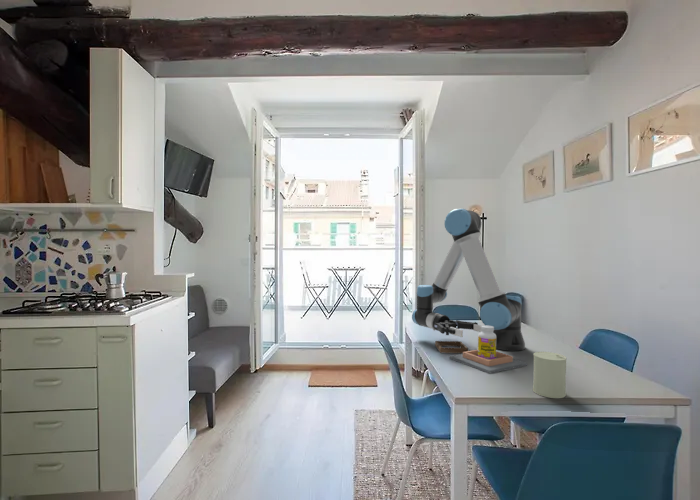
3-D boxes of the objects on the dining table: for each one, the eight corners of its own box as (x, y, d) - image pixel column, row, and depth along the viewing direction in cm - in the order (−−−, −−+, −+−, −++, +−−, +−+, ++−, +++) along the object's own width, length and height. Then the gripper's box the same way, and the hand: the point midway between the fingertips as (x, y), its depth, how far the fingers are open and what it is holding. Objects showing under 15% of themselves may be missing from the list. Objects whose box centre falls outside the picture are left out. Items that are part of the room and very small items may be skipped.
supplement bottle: (477, 360, 148) (478, 327, 148) (477, 356, 154) (478, 324, 154) (496, 362, 146) (497, 328, 146) (495, 357, 152) (496, 325, 152)
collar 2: (462, 357, 153) (462, 352, 153) (485, 352, 159) (486, 348, 159) (488, 366, 141) (488, 361, 141) (512, 361, 148) (512, 356, 148)
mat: (449, 358, 154) (449, 355, 154) (485, 352, 164) (485, 349, 164) (489, 373, 137) (489, 370, 137) (526, 365, 146) (526, 362, 146)
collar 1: (435, 345, 174) (435, 340, 174) (460, 345, 174) (461, 341, 174) (440, 352, 162) (440, 347, 162) (468, 353, 162) (468, 348, 162)
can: (565, 400, 113) (565, 360, 113) (530, 394, 118) (531, 355, 118) (566, 390, 121) (567, 353, 121) (534, 384, 126) (535, 348, 126)
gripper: (458, 327, 180) (495, 337, 162) (416, 333, 168) (451, 344, 150) (458, 311, 180) (495, 320, 162) (416, 316, 168) (451, 325, 150)
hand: (474, 332), depth 156 cm, fingers open, 13 cm apart
